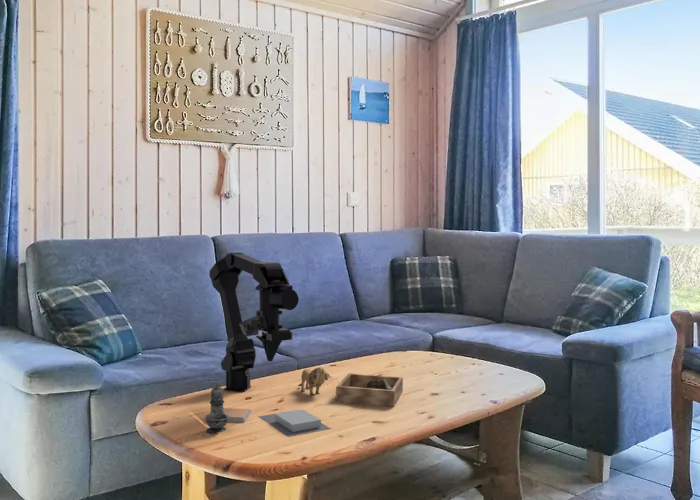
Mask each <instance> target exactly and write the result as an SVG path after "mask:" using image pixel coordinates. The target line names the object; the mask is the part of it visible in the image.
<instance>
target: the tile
mask: <svg viewBox="0 0 700 500" xmlns="http://www.w3.org/2000/svg"><path fill="white" fill-rule="evenodd" d="M294 410H295V411H294ZM294 410H289V412H288V411H284V412H283V411H282V412H283V413H282V412H277V414H276V413H274V414H275V421H276V422H278V423H279V424H281V425H283V426H284V427H286V428H287V429H289V430H290V431H292V432H298V431H304V430H309V429H314V428H319V427H321V423H322V419H320V418H319V417H317V416H315V415H314V414H311V413H310V412H308V411H306V410H305V409H304V408H303V409H301V408H300V409H294Z"/></svg>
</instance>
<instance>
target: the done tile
mask: <svg viewBox="0 0 700 500" xmlns="http://www.w3.org/2000/svg"><path fill="white" fill-rule="evenodd" d="M223 411H224V414H227V415H228V416H229V418H228V421H227V423H246V421H247V420H248V418H249V417H250V416H251V414H252V409H250V408H233V407H232V408H230V407H228V408H227V407H223Z"/></svg>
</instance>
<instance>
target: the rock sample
mask: <svg viewBox="0 0 700 500" xmlns="http://www.w3.org/2000/svg"><path fill="white" fill-rule="evenodd" d="M366 388H372V389H385V390H392V388H391V387H390V386H389V384H388V383H387V381H386V380H381V381H375V380H374V381H370V382H368V384H367V386H366Z"/></svg>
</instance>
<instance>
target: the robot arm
mask: <svg viewBox="0 0 700 500" xmlns="http://www.w3.org/2000/svg"><path fill="white" fill-rule="evenodd" d="M243 272H246V273H248V274H250V275H251V276H252V279H253V280H254V281H255V282H257V283H258V285H256V287H255V291H258V292H259V296H258V302H259V303H258V304H259V307H258V308H259V309H256V311H255V316H252V317H250V318H247V319H245V320H243V319H242V314H241V309H240V305H239V300H238V295H237V290H236V289H237V288H238V285H239V282H240V279H239V278H240V277H239V276H240V275H241V273H243ZM209 278H210V281H211V284H212V287H213V288H214V289H215V291H217V293H218V294H219V297H220V300H221V301H220V302H221V305H222V311H223V315H224V321H225V325H226V331H227V335H228V341H227V344H226V347H225V353H226V354H225V356H224V357H223V359H222V360H221V362H220V365H221V370H223V371H225V387H224V388H223V391H226V392H228V391H230V392H239V393H240V392H242V393H243V392H245V391H247V390H248V389H250V388H251V386H252V385H251V373H250V369H254V365H255V361H256V358H257V354H256V348H255V345H254V340H253V338H249V337H248V336H251V335H253V334H254V333H255V332H257V333H258V335H256V336H255V338H256V339H258V340H259V341H260V342H261V343H262V347H263V349H264V351H265V352H264V353H265V356H266V360H267V362H273V360H274V358H275V356H276V354H277V352H278V349H279V347H280V346H281V344H282V341H292V340H293V332H292V330H290V328H289V329H288V328H285V327H283V324H280V323H281V321H280V319H281V318H280V317H281V316H280V315H283V310H286V311H287V310H288V311H291V310H294V309H296V308H297V306H298V304H299V300H300V298H299V295H298V293H297V292H296V290H294V289H293V284H292V285H291V284H290V283H289V279H288V278H287V275H286V273H285V271H284V268H283V267H282V265H281V263H280V262H273V261H261V260H259V259H256V258H254V257H251V256H248V255H246V254H244V253H243V252H239V251H238V252H229V253H226V255H225V256H224V257H223V258H221V259H219V260H218V261H217V262H215V263H214V264H213V265H212V267H211V268H210V270H209Z"/></svg>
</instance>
